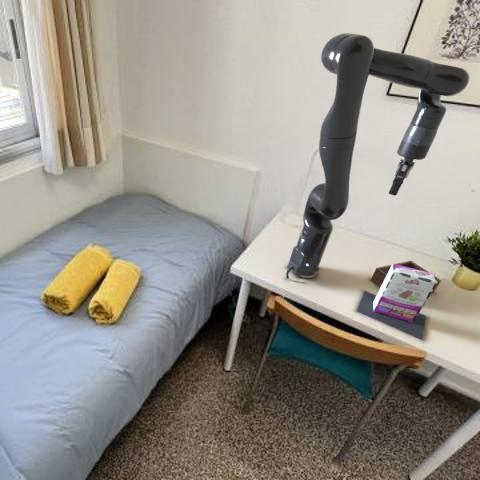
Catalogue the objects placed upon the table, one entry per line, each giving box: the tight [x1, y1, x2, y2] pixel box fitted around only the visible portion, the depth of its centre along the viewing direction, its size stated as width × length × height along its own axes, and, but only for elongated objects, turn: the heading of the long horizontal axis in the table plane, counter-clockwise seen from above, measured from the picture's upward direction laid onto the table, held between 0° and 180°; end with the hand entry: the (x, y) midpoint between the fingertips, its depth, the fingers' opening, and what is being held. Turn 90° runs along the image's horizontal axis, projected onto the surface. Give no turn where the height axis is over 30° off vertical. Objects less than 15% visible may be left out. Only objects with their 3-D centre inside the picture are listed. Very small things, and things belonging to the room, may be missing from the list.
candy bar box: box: [373, 263, 438, 323], centre depth 106 cm, size 11×5×16 cm, turn 66°
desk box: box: [370, 260, 442, 294], centre depth 121 cm, size 17×12×6 cm
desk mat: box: [356, 290, 427, 340], centre depth 110 cm, size 12×18×1 cm, turn 52°
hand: (394, 190), depth 112 cm, fingers open, 8 cm apart
